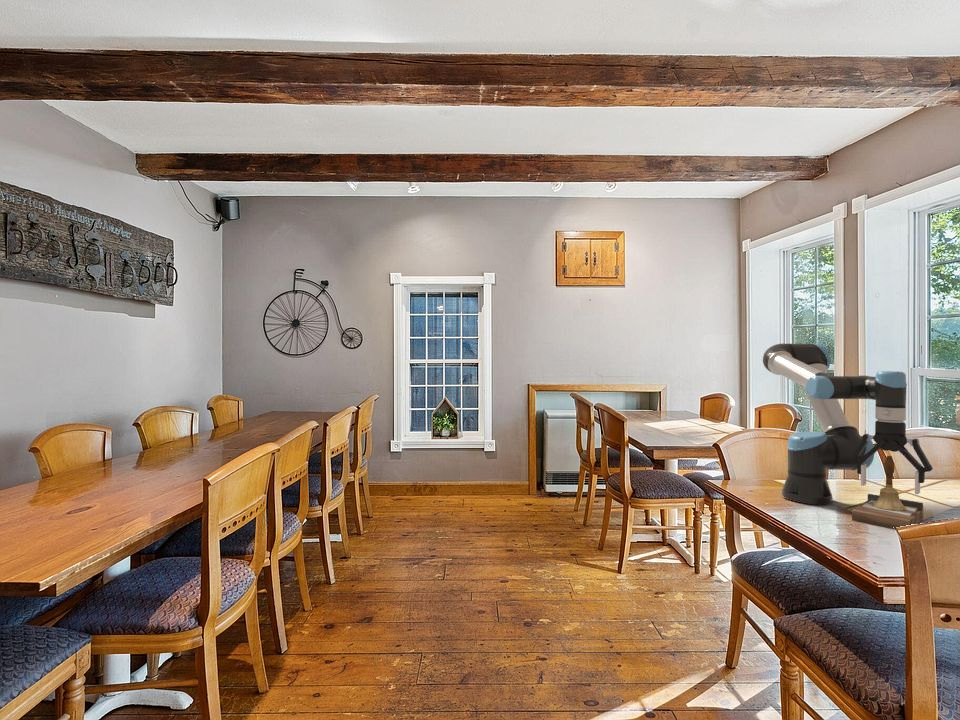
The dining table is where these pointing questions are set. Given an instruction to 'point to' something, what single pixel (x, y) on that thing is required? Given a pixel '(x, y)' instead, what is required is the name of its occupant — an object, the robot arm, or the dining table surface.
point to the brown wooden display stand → (888, 513)
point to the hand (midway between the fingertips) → (889, 489)
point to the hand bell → (889, 490)
